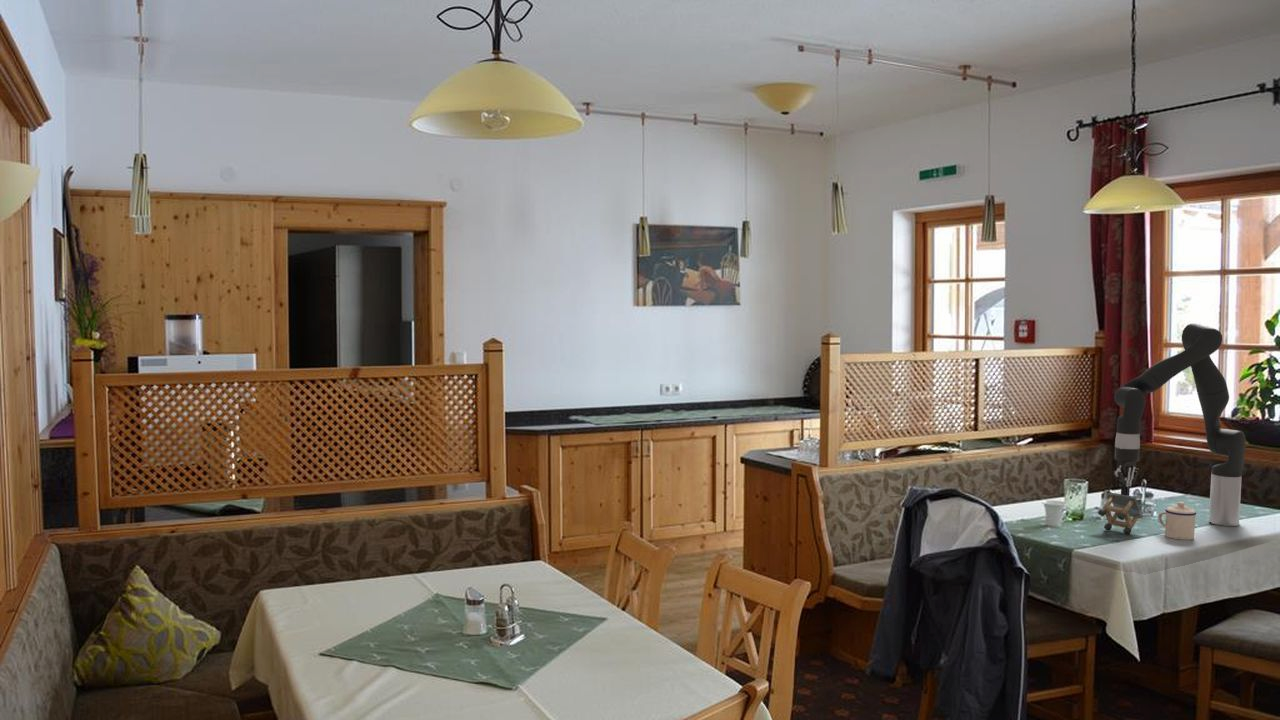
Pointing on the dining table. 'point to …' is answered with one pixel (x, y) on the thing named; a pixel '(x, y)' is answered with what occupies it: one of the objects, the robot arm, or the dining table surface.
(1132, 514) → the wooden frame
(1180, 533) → the teacup with lid
